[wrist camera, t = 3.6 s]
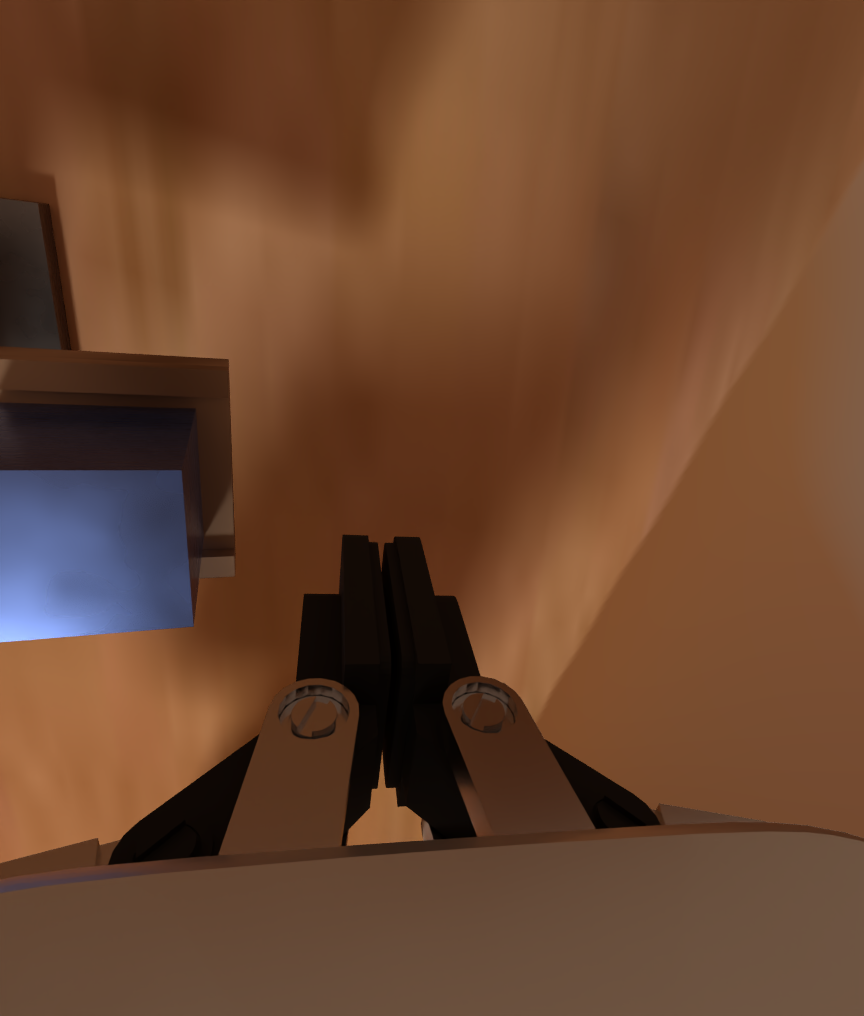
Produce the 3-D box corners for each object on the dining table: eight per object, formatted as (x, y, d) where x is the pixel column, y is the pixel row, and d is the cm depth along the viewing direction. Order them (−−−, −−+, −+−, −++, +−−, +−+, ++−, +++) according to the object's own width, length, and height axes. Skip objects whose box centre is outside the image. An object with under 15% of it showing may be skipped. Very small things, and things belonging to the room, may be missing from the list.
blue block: (195, 408, 17) (181, 470, 13) (203, 536, 19) (193, 626, 15) (-3, 402, 15) (-93, 470, 11) (27, 543, 17) (-40, 645, 13)
